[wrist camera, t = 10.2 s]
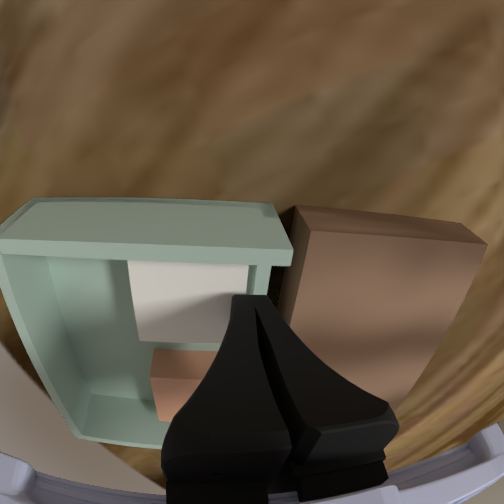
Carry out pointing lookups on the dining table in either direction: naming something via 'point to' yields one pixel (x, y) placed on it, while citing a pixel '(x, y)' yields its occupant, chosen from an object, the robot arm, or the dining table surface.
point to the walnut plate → (376, 292)
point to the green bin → (116, 294)
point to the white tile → (184, 299)
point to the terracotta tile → (177, 378)
